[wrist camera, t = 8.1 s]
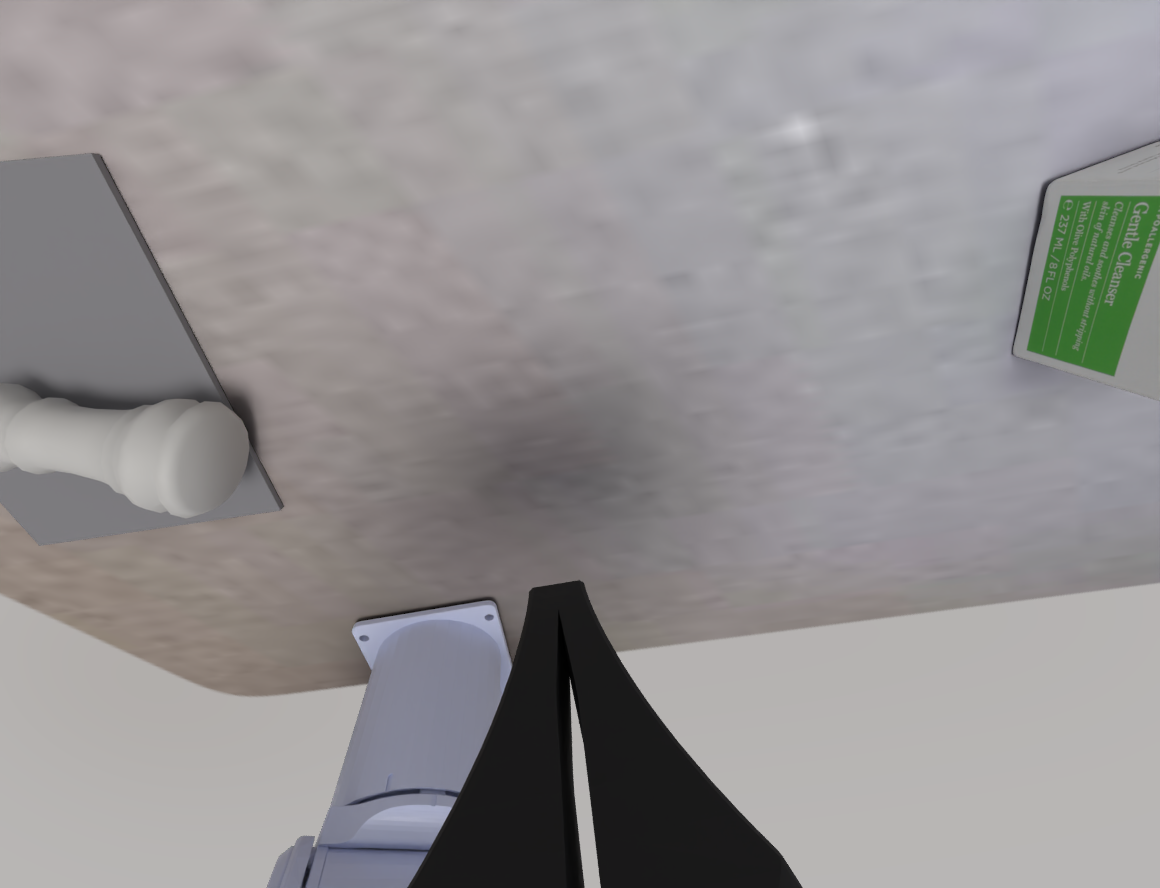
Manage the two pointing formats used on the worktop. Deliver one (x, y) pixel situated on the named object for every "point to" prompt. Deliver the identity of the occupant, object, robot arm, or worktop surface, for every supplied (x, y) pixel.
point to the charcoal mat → (93, 339)
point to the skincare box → (1099, 276)
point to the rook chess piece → (129, 447)
